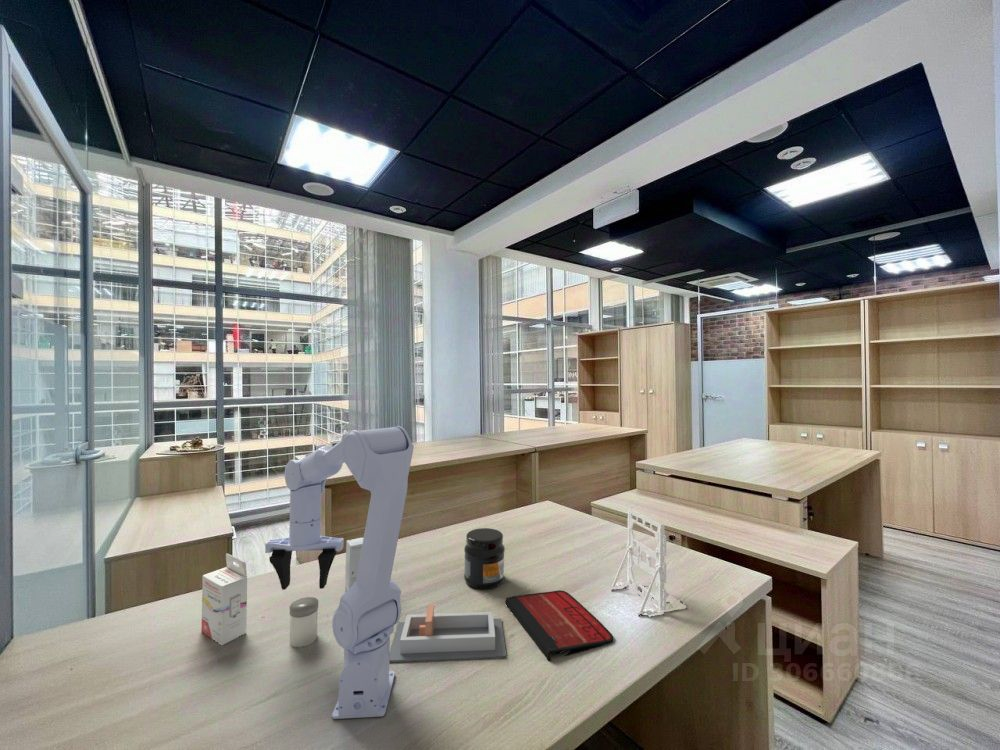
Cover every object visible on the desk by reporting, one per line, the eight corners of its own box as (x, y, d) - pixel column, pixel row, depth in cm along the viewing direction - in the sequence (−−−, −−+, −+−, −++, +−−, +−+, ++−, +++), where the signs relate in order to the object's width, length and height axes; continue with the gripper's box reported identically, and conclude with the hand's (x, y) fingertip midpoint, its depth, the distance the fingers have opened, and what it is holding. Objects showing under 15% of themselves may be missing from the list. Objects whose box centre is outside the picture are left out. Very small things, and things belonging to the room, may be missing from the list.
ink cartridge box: (199, 632, 84) (200, 560, 84) (225, 620, 88) (227, 551, 88) (220, 647, 79) (222, 570, 80) (247, 633, 84) (249, 561, 84)
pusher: (431, 647, 79) (431, 621, 79) (417, 648, 79) (417, 621, 79) (433, 628, 85) (434, 604, 85) (421, 629, 85) (421, 604, 85)
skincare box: (348, 597, 98) (349, 546, 98) (344, 589, 101) (345, 540, 102) (374, 590, 101) (375, 541, 101) (369, 582, 105) (370, 535, 105)
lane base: (506, 657, 77) (506, 642, 77) (387, 662, 75) (387, 646, 75) (501, 620, 89) (501, 606, 89) (398, 623, 87) (398, 610, 87)
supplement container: (511, 585, 104) (511, 538, 104) (472, 594, 100) (473, 545, 100) (494, 568, 114) (494, 525, 114) (458, 575, 109) (458, 530, 109)
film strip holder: (693, 610, 94) (693, 522, 94) (641, 619, 90) (641, 528, 90) (653, 580, 108) (653, 504, 108) (606, 587, 104) (606, 508, 104)
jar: (312, 647, 80) (312, 610, 80) (284, 648, 79) (284, 611, 79) (321, 630, 85) (322, 596, 85) (295, 631, 84) (296, 597, 84)
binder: (548, 651, 76) (504, 596, 96) (547, 664, 76) (504, 606, 96) (618, 635, 82) (564, 587, 102) (618, 647, 82) (563, 596, 102)
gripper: (348, 511, 87) (347, 576, 87) (277, 512, 86) (276, 577, 86) (337, 523, 80) (336, 593, 80) (260, 524, 79) (259, 595, 79)
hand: (304, 586), depth 82 cm, fingers open, 7 cm apart
